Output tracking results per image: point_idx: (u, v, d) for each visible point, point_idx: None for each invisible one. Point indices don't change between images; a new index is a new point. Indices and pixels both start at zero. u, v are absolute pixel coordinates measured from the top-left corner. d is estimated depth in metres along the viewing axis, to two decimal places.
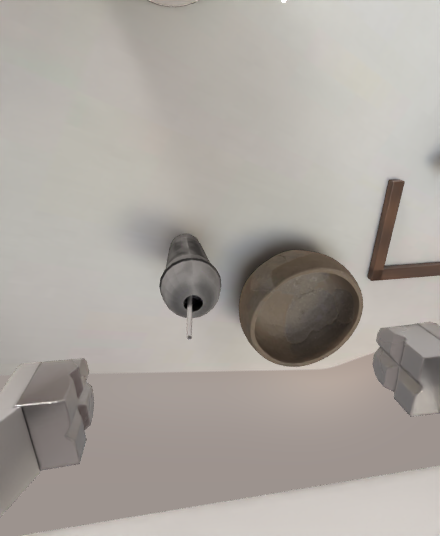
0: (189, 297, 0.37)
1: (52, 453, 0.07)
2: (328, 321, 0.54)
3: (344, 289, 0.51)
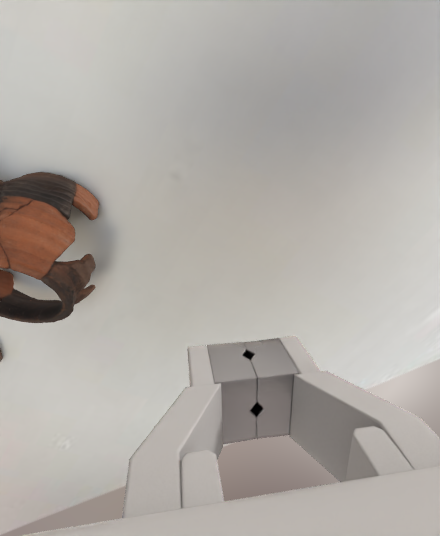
0: None
1: (235, 428, 0.08)
2: None
3: None
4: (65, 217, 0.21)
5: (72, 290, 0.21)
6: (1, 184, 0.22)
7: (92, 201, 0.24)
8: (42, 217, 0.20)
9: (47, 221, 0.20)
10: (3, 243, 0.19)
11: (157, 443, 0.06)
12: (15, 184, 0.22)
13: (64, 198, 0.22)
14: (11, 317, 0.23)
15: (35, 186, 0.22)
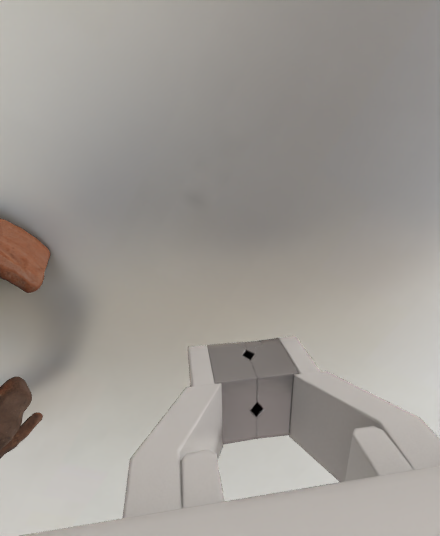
0: None
1: (236, 428, 0.08)
2: None
3: None
4: None
5: None
6: None
7: (33, 253, 0.12)
8: None
9: None
10: None
11: (157, 443, 0.06)
12: None
13: None
14: None
15: None
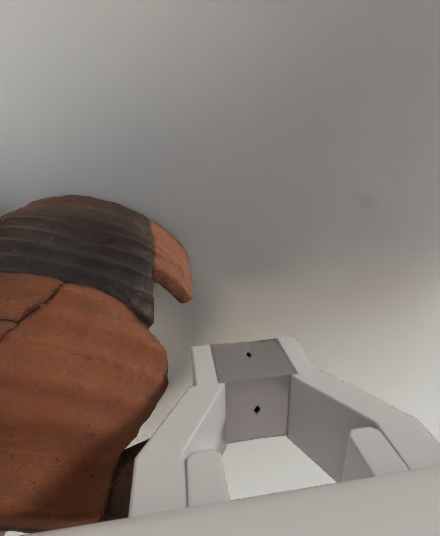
0: None
1: (239, 427, 0.08)
2: None
3: None
4: (145, 324, 0.08)
5: None
6: None
7: (181, 259, 0.11)
8: (90, 340, 0.07)
9: (104, 350, 0.07)
10: None
11: (162, 442, 0.06)
12: (14, 232, 0.08)
13: (136, 268, 0.09)
14: None
15: (64, 236, 0.09)
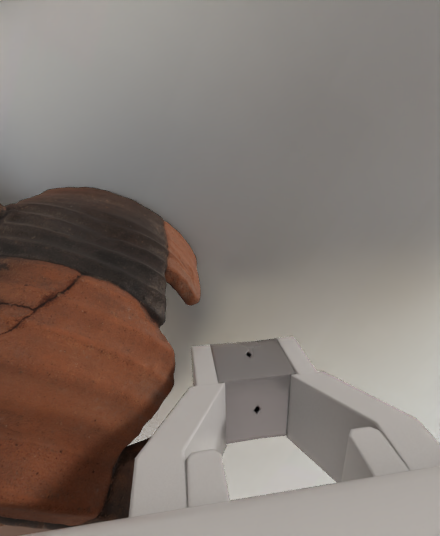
0: None
1: (239, 428, 0.08)
2: None
3: None
4: (156, 323, 0.08)
5: None
6: None
7: (191, 261, 0.11)
8: (104, 334, 0.07)
9: (116, 345, 0.07)
10: None
11: (162, 442, 0.06)
12: (32, 218, 0.08)
13: (150, 266, 0.09)
14: None
15: (81, 227, 0.09)
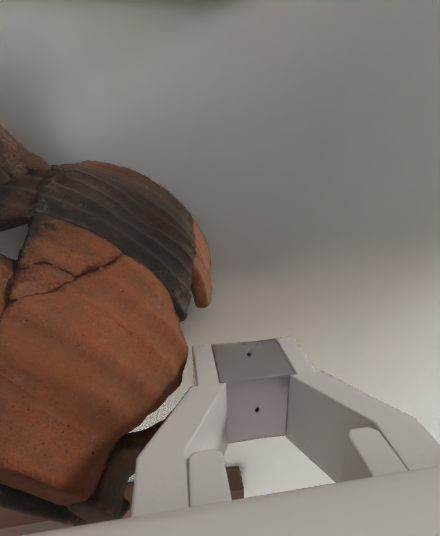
0: None
1: (240, 427, 0.08)
2: None
3: None
4: (179, 318, 0.08)
5: (127, 511, 0.08)
6: (41, 171, 0.08)
7: (208, 265, 0.11)
8: (136, 317, 0.07)
9: (144, 331, 0.07)
10: None
11: (164, 442, 0.06)
12: (78, 186, 0.08)
13: (181, 261, 0.09)
14: None
15: (124, 207, 0.09)
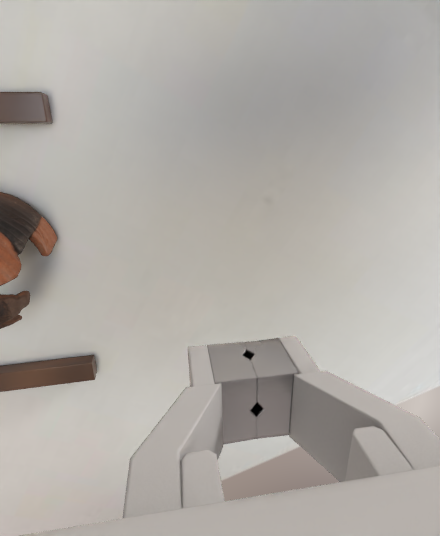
0: None
1: (236, 428, 0.08)
2: None
3: None
4: (16, 252, 0.21)
5: None
6: None
7: (51, 237, 0.25)
8: None
9: None
10: None
11: (157, 443, 0.06)
12: None
13: (22, 232, 0.22)
14: None
15: None
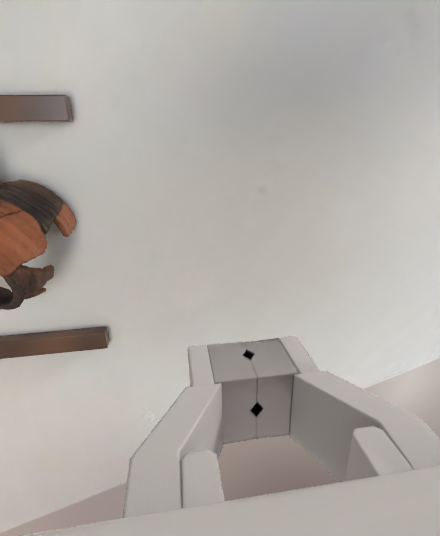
0: None
1: (236, 428, 0.08)
2: None
3: None
4: (43, 232, 0.25)
5: (26, 292, 0.25)
6: None
7: (71, 221, 0.28)
8: (24, 227, 0.24)
9: (27, 232, 0.24)
10: None
11: (157, 443, 0.06)
12: (11, 190, 0.25)
13: (48, 215, 0.26)
14: None
15: (27, 196, 0.26)
